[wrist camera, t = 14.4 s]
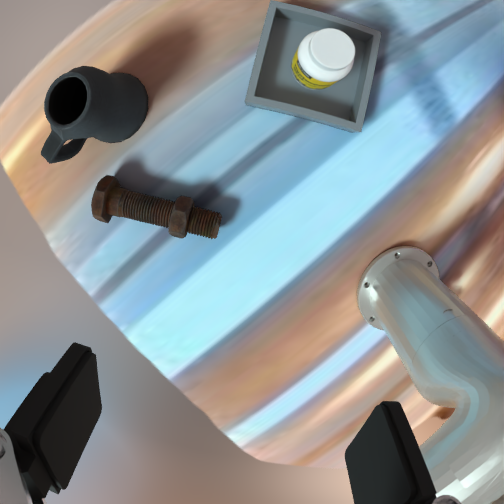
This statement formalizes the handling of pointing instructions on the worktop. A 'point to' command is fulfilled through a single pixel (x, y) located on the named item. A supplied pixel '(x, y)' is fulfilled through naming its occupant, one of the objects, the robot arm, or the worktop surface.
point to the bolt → (153, 210)
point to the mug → (92, 110)
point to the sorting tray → (294, 94)
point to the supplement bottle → (323, 58)
